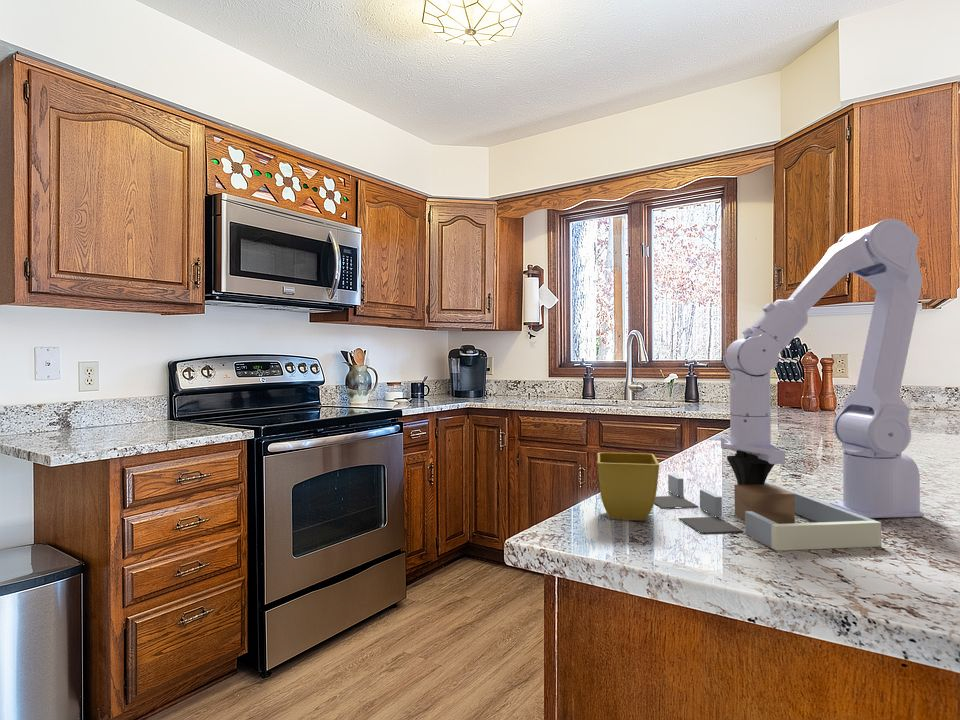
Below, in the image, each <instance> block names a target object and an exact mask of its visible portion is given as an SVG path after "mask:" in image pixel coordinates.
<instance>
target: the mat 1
mask: <svg viewBox="0 0 960 720" xmlns="http://www.w3.org/2000/svg"><path fill="white" fill-rule="evenodd" d="M653 505H656V506H657V507H658V508H660V507H661V508H660V509H662V508H670V509H676V508H675V507H698V508H699V505H697V504H695V503H694V502H692V501H689V500H688V499H686V498H684V497H683V496H677V495H665V496H664V495H661V496H657V495H656V497H655V501H654V504H653Z"/></svg>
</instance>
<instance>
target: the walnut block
mask: <svg viewBox="0 0 960 720" xmlns="http://www.w3.org/2000/svg"><path fill="white" fill-rule="evenodd" d="M776 485H777V484H776ZM776 485H737V484H734V487H733V488H734V515H735V516H737V517H739V519H742V520H743V521H744V522H745V511H753V512H755V513H757V514H759V515H761V516H763V517H765V518H767V519H769V520H772V521H774V522H776V523H778V524H791V523H796V521H795V520H796V519H795V518H796V513H795V494H793V493H791V492H789V491H787V490H785V489H783V488H780V487H778V486H776Z"/></svg>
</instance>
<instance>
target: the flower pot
mask: <svg viewBox="0 0 960 720" xmlns="http://www.w3.org/2000/svg"><path fill="white" fill-rule="evenodd" d="M596 456H597V471H598V472H597V475H598V483H599V492H600V499H601V501H602V504H603V508H604V510H605V512H606V513H607V516H608V518H609V519H611V520H622V521H623V520H624V521H625V520H627V521H639V522H641V521H646V520H647V518H649V515H650V513H651V511H652V509H653V508H654V505H655V504H654V501H655V497H656V496H657V490H658V482H659V481H658V479H659V470H660V463H659V461H658V459H657V458H656V455H654V454H653V453H643V452H642V453H640V452H638V453H637V452H608V451H607V452H605V451H603V452H597V454H596Z"/></svg>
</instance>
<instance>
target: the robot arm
mask: <svg viewBox="0 0 960 720" xmlns="http://www.w3.org/2000/svg"><path fill="white" fill-rule="evenodd" d="M919 242H920V237H919V236H918V235H917V234H916V233H915V232H914V231H913V230H912V229H911V227H910V226H909V225H908V224H906V223H905V222H904V221H902V220H900V219H897V218H886V219H883V220H880V221H878V222H877V223H875V224H872V225H869V226H866V227H863V228H861V229H858V230H854V231H850V232H847V233H845V234H843V235H842V236H840V237H839V239H838V241H837V243H834V244H833V245H832V246H830V247H829V248H828V249H827V251H826V252H825V253H824V256H823V257H822V258H821V259H820V260H819V261H818V263H817V264H816V265H815V266H814V267H813V268H812V269H811V271H810V272H809V273H808V274H807V276H806V277H805V278H804V279H803V280H802V282H801V283H800V284H799V285H798V287H797V288H796V289H795V290H794V291H793V292H792V294H791V295H790V296H789V297H788V298H787V299H776V300H775V301H774V302H769V303H766V304H765V305H764V306H763V308H762V309H761V310H762V311H763V312H764V313H763V314H761V316H760V317H759V318H757V320H756V321H755V322H754V323H753V324H752V325H751V326H750V327H747V328H745V329H743V331H742V335H743V338H740V339H736V340H734V341H732V343H730V344H729V346H727V349H726V353H725V354H724V355H723V356H722V360H723V364H724V366H725V367H726V369H727V370H728V371H729V413H730V414H729V417H730V418H729V419H730V421H729V422H730V423H729V426H730V427H729V429H730V431H729V433H730V436H720V449H721V450H722V449H723V450H729V451H733V452H735V454H734V455H727V456H726V460H727V462H728V463H729V466H730V467H731V469H732V471H733V474H734V476H735V479H736V483H737V482H738V485H764V483H765V481H767V478H768V476H769V475H770V472H771V471H772V469H773V467H774V466H775V465H785V464H786V450H784V449H781V448H778V446H776V445H774V444H773V443H772V440H771V439H772V430H771V429H772V424H771V420H772V418H771V417H772V416H771V411H772V409H771V405H772V404H771V371H772V370H773V369H775V368H776V367H777V365H778V363H779V360H780V359H779V358H780V357H779V354H780V353H781V352H782V351H783V350H784V349H785V348H786V347H787V346H788V345H789V344H791V343H790V342H792V340H793V339H794V338H796V336H797V335H799V333H800V332H801V331H802V330H803V329H804V328H805V326H807V324H808V323H809V320H808V319H809V318H808V312H809V310H810V309H811V308H812V307H814V305H815V304H817V302H819V300H821V299H822V298H823V297H824V295H826V294H827V293H828V292H829V291H830V290H831V289H832V288H833V287H834V286H835V285H836V284H837V283H838V282H839V281H840V280H842V278H843V277H844V276H846V275H847V274H851V273H852V274H853V275H855V276H858V277H859V278H860V279H862V280H864V281H865V282H867V283H868V284H869V285H870V286H871V287H872V288H873V289H874V290H875V297H874V302H873V306H872V312H871V317H870V321H869V326H868V330H867V331H868V332H867V336H866V340H865V341H866V342H865V344H864V345H865V346H864V349H863V355H862V360H861V365H860V368H859V369H860V370H859V374H858V379H857V384H856V388H855V389H854V390H853V391H852V392H851V393H850V394H849V395H848V396H847V397H846V398H845V399H844V401H843V406H842V408H841V411H840V412H839V413H838V414H837V415H836V417H835V418H834V421H833V426H832V427H833V433H834V436H835V438H836V439H837V441H838V442H840V443H841V450H842V487H843V489H842V490H843V491H842V501H830V502H829V504H831V505H834V506H837V507H840V508H842V509H845V510H848V511H851V512H853V513H856V514H859V515H862V516H864V517H867V518H870V519H881V518H886V519H887V518H888V519H889V518H906V517H907V518H909V517H911V518H912V517H913V518H915V517H924V516H926V515H925V514H926V513H925V512H922V511H921V496H920V495H921V491H920V490H921V489H920V488H921V487H920V485H921V481H920V480H921V479H920V478H921V475H920V470H919V467H918V465H917V463H916V462H915V460H914V459H913V458H912V457H910V456H909V455H907V454H903V453H902V452H904V451H905V450H906V449H907V447H908V446H909V444H910V443H911V439H912V431H911V429H912V428H911V427H910V426H911V425H910V422H909V415H910V411H911V410H910V408H909V406H908V405H907V404H906V403H905V401H904V399H903V398H902V397H901V395H900V392H901V387H902V381H903V378H904V377H903V376H904V374H905V373H904V372H905V367H906V362H907V357H908V354H909V347H910V343H911V339H912V333H913V329H914V324H915V321H916V319H915V318H916V315H917V309H918V305H919V300H920V295H921V291H922V286H923V276H922V272H921V268H920V263H919V261H918V255H917V252H918V246H919Z"/></svg>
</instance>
